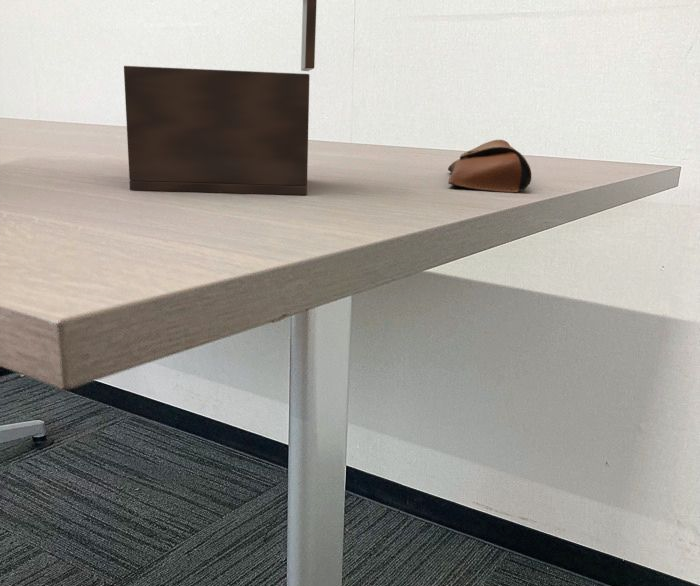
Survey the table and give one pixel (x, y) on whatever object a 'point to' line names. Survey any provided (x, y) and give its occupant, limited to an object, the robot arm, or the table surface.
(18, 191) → the table surface
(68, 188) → the table surface
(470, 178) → the sunglasses case
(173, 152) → the chest
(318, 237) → the table surface
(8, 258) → the table surface
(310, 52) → the lid
